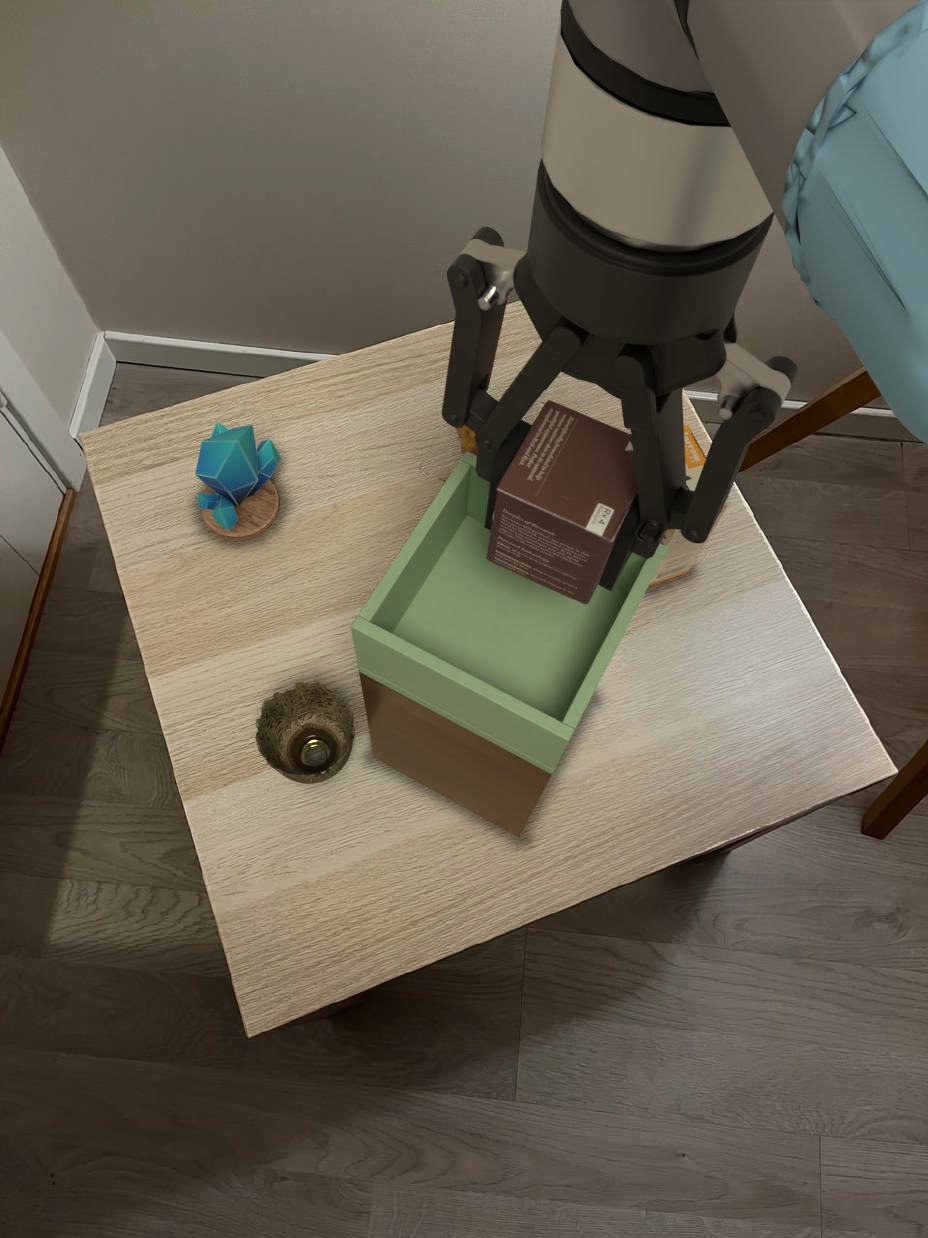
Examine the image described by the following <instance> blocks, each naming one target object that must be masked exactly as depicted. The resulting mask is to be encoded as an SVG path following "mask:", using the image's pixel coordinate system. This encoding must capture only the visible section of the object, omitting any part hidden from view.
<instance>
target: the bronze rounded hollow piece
mask: <svg viewBox="0 0 928 1238" xmlns="http://www.w3.org/2000/svg"><path fill="white" fill-rule="evenodd" d="M255 727H256V729H257V731H256V732H255V736H254V737H255V738H254V739H255V741H256V746H257V750H258V752H259V755H260V756H262V758H263V759H264V760H265V762H266V764H267V765H268V766H270V767H271V768H273V769H274V770H275V771H276V772H277V773H279V774H280V775H282V776H283V777H285V778H286V779H288V780H290V781H293V782H295V783H300V784H305V785H313V784H319V783H322V782H326V781H328V780H330V779H331V778H333V777H335V776H336V775H337V774H338V773H340V771H341V770H343V768H344V767H345V766H346V764H347V763H348V760H349V758H350V756H351V753H352V750H353V745H354V739H355V734H356V726H355V715H354V712H353V709H352V708H351V706H350V704H349V702H348V701H347V700H345V699H344V698H342V696H341V694H340V693H339V691H338V690H337V689H333V690H331V689H330V688H329V687H328V686H327V685H326V684H324V683H323V682H320V681H316V680H315V681H311V682H304V681H297V682H295V683H294V688H291V689H286V690H285V691H284V692H279V691H275V692H274V693H273V695H272V698H269V699H266V700H264V701H263V703H262V705H261V709H260V717H257V718H256V719H255ZM316 747H317V748H318V747H319V748H321V749H323V751H324V752H325V759H324V761H323V762H322V763H320V764H317V765H313V764H311V763H310V762H309V761H308V759H307V754H308V752H309V751H310V750H311V749H312V748H316Z"/></svg>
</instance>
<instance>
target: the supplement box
mask: <svg viewBox="0 0 928 1238" xmlns="http://www.w3.org/2000/svg"><path fill="white" fill-rule="evenodd" d="M684 443H685V465H686V488H687V490H691V491H695V488H696V485H697V483H698V480H699V477H700V474H701V471H702V469H703V466H704V463H705V460H706V458H707V455H706V454H705V452H704V450H703V448H702V447H701V445H700V443H699V442H698V440H697V438H696V436H695V435H694V432H693V431H692V429H691V428H690V425H689V424H688V423H687V422H685V421H684ZM731 503H732V500H731V498H730V496H729V495H728V498H727V500H726V502H725V504H724V506H723V508H722V510H721V512H720V514H719V516H718V518H717V520H716V521H715V523H714V525H713V527H712V529H711V531H710V533H709V535H708V537H707V539H706V541H705V542H704V543H701V544H697V543H693V542H690V541H688V540H686V539H685V538H684V537H683V536H682V534H681V530H678V529H669V530H667V531H666V533H665V535H664V537H663V539H662V541H661V543H660V544H662V545H665V546H667V547H668V549H667V551H666V553H665V555H664V557H663V559H662V561H661V563H660V565H659V567H658V569H657V570H656V572H655V574H654V576H653V578H652V580H651V582H650V584H649V586H648V588H649V587H651V586H653V585H656V584H659V583H662V582H665V581H667V580H670V579H674V578H676V577H678V576H681V575H684V574H687V573H689V572H690V570H691V568H692V566H693V565H694V563H695V561H696V560H697V558H698V557H699V555H700V554H701V552H702V551H703V549H704V547H705V546H706V544H707V542H708V541H709V539H710V537H711V536H712V534H713V533H714V531H715V529H716V527H717V526H718V524H719V522H720V521H721V519H722V518H723V515H724V514H725V513H726V511H727V509H728V507H729V506H730V504H731Z"/></svg>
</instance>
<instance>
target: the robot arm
mask: <svg viewBox="0 0 928 1238" xmlns="http://www.w3.org/2000/svg"><path fill="white" fill-rule="evenodd" d="M552 59H553V60H552V64H551V65H552V66H551V72H550V78H549V79H550V80H549V86H548V93H547V99H546V107H545V113H544V119H543V125H542V126H543V127H542V133H541V140H540V146H541V158H540V161H539V166H538V169H537V175H536V183H535V188H534V197H533V204H532V212H531V219H530V227H529V233H528V242H527V249H526V250H523V249H517V248H512V247H507V246H505V242H504V240H503V237H502V236H501V234H500V233H499V232H498V231H497V230H495V229H494V228H492V227H489V226H482V227H480V228H478V229H477V230H476V232H475V233H474V235H473V236H472V238H471V239H470V240H469V241H468V242H467V244H466V245H465V246H464V248H463V249H462V251H460V253H459V254H458V255H457V257H456V258H455V259H454V261H453V262H452V263H451V264H450V266H449V267H448V269H447V271H446V278H447V282H448V286H449V290H450V294H451V298H452V302H453V306H454V311H455V315H454V323H453V328H452V337H451V343H450V350H449V358H448V363H447V372H446V379H445V386H444V392H443V393H444V394H443V398H442V399H443V400H442V406H441V417H442V419H443V421H444V422H445V423H446V424H447V425H449V426H450V427H452V428H454V429H455V428H461V427H463V426H464V425H465V426H466V427H468V428H469V429H470V430H471V431H473V433H474V434H475V438H474V439H475V442H476V444H477V445H478V448H477V459H476V469H475V470H476V472H477V475H478V477H480V478H482V479H484V480H486V481H488V482H490V489H489V496H488V504H487V512H486V520H485V528H487V529H489V530H491V526H492V520H493V514H494V507H495V501H496V496H497V487H498V485H499V483H500V481H501V479H502V478H503V476H504V473H505V472H506V470H507V468H508V467H509V465H510V463H511V462H512V460H513V458H514V456H515V454H516V453H517V451H518V449H519V447H520V446H521V444H522V442H523V440H524V438H525V437H526V435H527V433H528V431H529V430H530V428H531V426H532V423H530V422H527V421H525V420H523V418H524V417H525V415H526V414H527V413H528V412H529V410H530V409H531V408H532V407H533V406H534V404H535V403H536V402H537V401H538V399H539V398H540V397H541V396H542V394H544V392H545V391H547V390H548V389H549V388H550V387H551V385H552V384H553V383H554V381H555V380H556V378H557V377H558V376H559V375H560V374H561V373H562V374H564V375H567V376H569V377H571V378H573V379H576V380H578V381H582V382H586V383H589V384H594V385H596V386H597V387H599V388H601V389H602V390H603V391H605V392H606V393H608V394H609V395H610V396H612V397H614V398H615V399H619V400H620V405H621V406H620V407H621V413H622V422H623V427H624V428H625V429H626V430H630V434H631V437H632V446H633V455H634V464H635V473H636V481H637V490H638V496H637V498H636V500H635V502H634V503H633V505H632V507H631V509H630V511H629V512H628V514H627V516H626V518H625V519H624V521H623V523H622V526H621V528H620V531H619V533H618V536H617V538H616V541H615V544H614V546H613V549H612V551H611V554H610V556H609V559H608V561H607V564H606V566H605V569H604V571H603V574H602V576H601V579H600V582H599V584H598V585H599V586H601V587H603V588H605V589H607V590H609V591H611V590H612V588H613V587H614V585H615V583H616V581H617V579H618V578H619V576H620V574H621V572H622V570H623V568H624V567H625V565H626V563H627V561H628V559H629V558H630V556H631V554H632V552H633V553H635V554H637V555H639V556H641V557H643V558H645V559H649V558H651V557H653V556H654V554H655V552H656V550H657V548H658V546H659V544H660V543H661V541H662V539H663V537H664V535H665V533H666V531H667V530H669V529H678V530H681V534H682V536H683V537H684V538H685V539H686V540H688V541H690V542H693V543H697V544H701V543H704V542H705V541H706V539H707V537H708V535H709V533H710V531H711V529H712V527H713V525H714V523H715V521H716V520H717V518H718V516H719V514H720V512H721V510H722V508H723V506H724V504H725V502H726V500H727V498H728V496H729V495H730V493H731V491H732V488H733V486H734V484H735V481H736V479H737V476H738V474H739V471H740V469H741V467H742V463H743V462H744V459H745V457H746V454H747V453H748V450H749V447H750V445H751V443H752V440H754V439H755V438H756V437H757V436H758V435H760V434H761V433H762V432H763V431H765V430H766V429H767V428H768V427H770V426H771V425H772V424H773V423H774V421H775V420H776V418H777V416H778V414H779V412H780V410H781V408H782V406H783V404H784V402H785V401H786V399H787V396H788V395H789V393H790V390H791V388H792V387H793V385H794V383H795V381H796V379H797V376H798V374H799V368H798V365H797V363H795V361H794V360H792V358H789V357H787V356H782V355H776V356H772V357H770V358H769V359H767V360H766V361H765V362H763V361H762V360H761V359H759V358H758V357H756V356H755V355H753V354H752V353H751V352H749V351H748V350H747V349H745V348H744V347H742V346H741V345H739V344H738V343H737V341H738V327H737V323H736V307H737V304H738V303H739V300H740V298H741V295H742V293H743V291H744V289H745V286H746V284H747V283H748V280H749V277H750V275H751V272H752V270H753V267H754V266H755V263H756V261H757V259H758V256H759V254H760V252H761V249H762V247H763V245H764V242H765V240H766V238H767V236H768V233H769V231H770V229H771V226H772V223H773V220H774V218H775V217H776V219H777V222H778V223H779V226H780V229H782V231H783V234H784V238H785V241H786V243H787V246H788V249H789V252H790V255H791V260H792V267H793V268H794V269H795V271H796V272H797V273H798V275H799V279H800V281H801V282H803V283H804V285H805V287H806V289H807V291H808V292H809V295H810V296H811V299H812V300H813V302H814V304H815V306H817V307H818V308H819V309H820V310H821V311H823V312H824V313H826V314H827V315H828V316H829V318H830V320H831V321H835V322H836V323H837V325H838V327H839V329H840V330H841V331H842V333H843V335H844V337H845V338H846V340H847V341H848V343H849V344H850V347H851V348H852V349H853V351H854V352H855V354H856V356H857V358H858V360H860V362H861V364H862V366H863V367H864V369H865V370H866V372H867V374H868V376H869V377H870V379H871V380H872V382H873V383H874V386H875V387H876V388H877V390H878V391H879V393H880V395H881V397H882V398H883V399H884V401H885V403H886V404H887V406H888V407H889V409H890V411H891V413H892V414H893V415H894V417H895V418H896V420H898V421H899V422H900V423H901V425H902V426H903V427H904V428H906V430H907V431H908V432H909V433H910V434H912V435H913V436H914V438H916V439H918V441H919V440H920V441H921V442H922V443H924V444H926V445H928V0H561V5H560V13H559V18H558V26H557V32H556V38H555V45H554V53H553V58H552ZM774 216H775V217H774ZM513 291H515V293H516V295H517V297H518V299H519V300H520V302H521V304H522V306H523V308H524V311H525V312H526V314H527V316H528V317H529V319H530V321H531V324H532V325H533V327H534V330H535V331H536V333H537V335H538V337H539V339H540V340H541V342H540V344H539V345H538V346H537V348H536V349H535V350H534V352H533V353H532V354H531V356H530V357H529V359H528V360H527V362H526V363H525V364H524V365H523V367H522V368H521V370H520V371H519V372H518V374H517V375H516V377H515V378H514V379H513V381H512V382H511V383H510V385H509V386H508V387H507V389H506V390H505V391H504V392H503V394H502V396H501V397H500V398H499V400H497V398H495V397H493V396H492V395H490V393H488V391H489V389H490V388H489V387H490V383H491V379H492V374H493V369H494V364H495V360H496V355H497V350H498V346H499V341H500V336H501V333H502V327H503V323H504V318H505V314H506V309H507V304H508V300H509V296H511V294H512V292H513ZM712 377H714V378H716V380H717V381H718V383H719V391H718V392H717V395H716V400H717V403H718V405H720V406H719V408H718V409H717V414H718V416H719V418H721V419H722V421H721V423H720V425H719V427H718V429H717V431H716V432H715V435H714V437H713V439H712V441H711V444H710V447H709V449H708V452H707V454H706V457H707V458H706V460H705V463H704V466H703V469H702V471H701V474H700V477H699V480H698V483H697V485H696V488H695V491H691V490H687V488H686V465H685V443H684V422H685V421H684V403H683V401H684V399H683V391H684V388H686V387H689V386H692V385H695V384H697V383H700V382H702V381H705V380H707V379H710V378H712Z"/></svg>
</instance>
